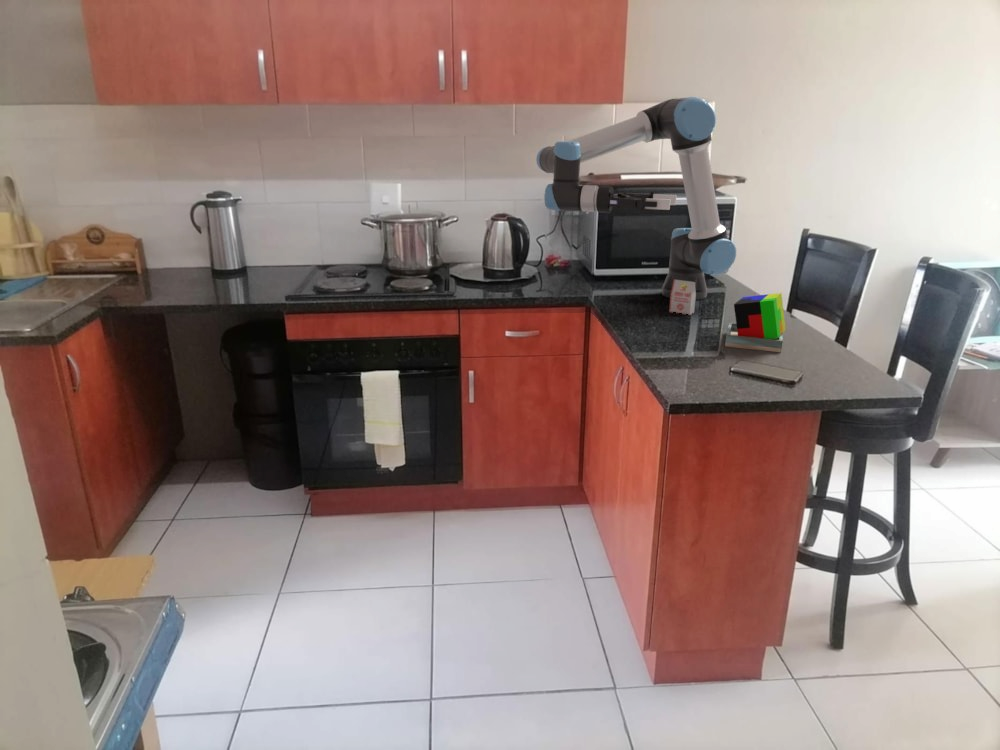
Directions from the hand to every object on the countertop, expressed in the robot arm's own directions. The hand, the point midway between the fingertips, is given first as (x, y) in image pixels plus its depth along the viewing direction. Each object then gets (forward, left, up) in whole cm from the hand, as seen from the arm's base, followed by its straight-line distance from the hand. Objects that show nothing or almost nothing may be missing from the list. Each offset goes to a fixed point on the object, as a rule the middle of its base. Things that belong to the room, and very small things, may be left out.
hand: (673, 202), depth 196 cm
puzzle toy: (+10, +28, -33) cm, 44 cm away
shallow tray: (+10, +26, -35) cm, 45 cm away
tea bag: (-16, +4, -35) cm, 39 cm away
